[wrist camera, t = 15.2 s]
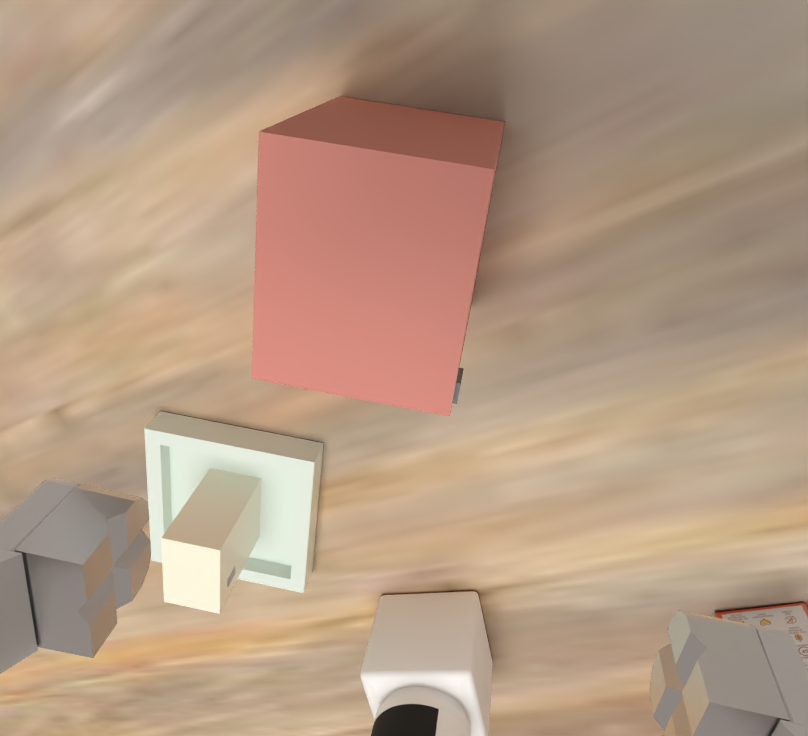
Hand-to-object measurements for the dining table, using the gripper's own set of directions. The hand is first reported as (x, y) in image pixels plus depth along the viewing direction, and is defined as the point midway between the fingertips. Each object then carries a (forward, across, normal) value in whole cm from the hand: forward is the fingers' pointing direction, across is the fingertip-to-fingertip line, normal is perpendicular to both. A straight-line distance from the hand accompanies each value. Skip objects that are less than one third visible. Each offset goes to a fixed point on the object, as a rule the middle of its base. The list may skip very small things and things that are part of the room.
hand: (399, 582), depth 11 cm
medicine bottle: (+29, -2, +32) cm, 43 cm away
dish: (+29, +13, +24) cm, 40 cm away
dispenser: (+29, +4, +2) cm, 29 cm away
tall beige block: (+28, +13, +23) cm, 39 cm away
